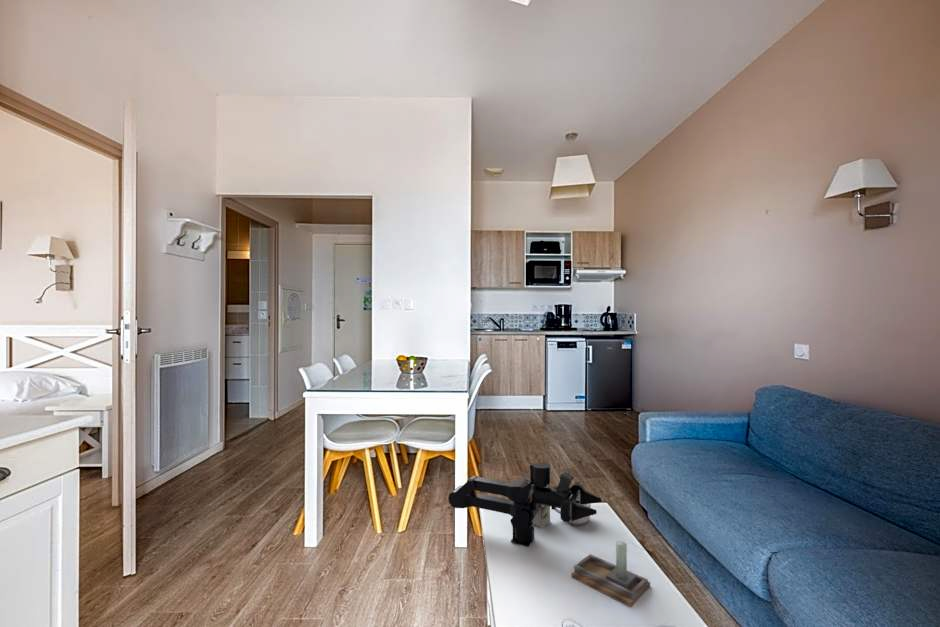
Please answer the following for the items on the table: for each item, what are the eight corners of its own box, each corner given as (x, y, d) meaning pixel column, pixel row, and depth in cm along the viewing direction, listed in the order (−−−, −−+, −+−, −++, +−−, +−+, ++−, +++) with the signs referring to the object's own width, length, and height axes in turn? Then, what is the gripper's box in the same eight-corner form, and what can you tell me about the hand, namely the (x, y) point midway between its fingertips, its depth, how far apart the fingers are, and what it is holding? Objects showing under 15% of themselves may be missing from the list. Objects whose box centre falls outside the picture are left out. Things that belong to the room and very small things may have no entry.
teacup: (590, 515, 164) (590, 494, 164) (591, 529, 153) (591, 507, 153) (553, 512, 167) (553, 491, 167) (552, 525, 156) (551, 503, 156)
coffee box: (551, 521, 159) (550, 478, 159) (542, 528, 155) (541, 483, 155) (529, 514, 165) (529, 472, 165) (520, 520, 160) (520, 477, 160)
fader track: (571, 577, 126) (571, 568, 126) (592, 560, 134) (592, 552, 134) (630, 607, 113) (630, 597, 113) (650, 586, 121) (650, 577, 121)
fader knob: (606, 582, 121) (606, 543, 121) (616, 573, 125) (616, 535, 125) (626, 592, 117) (626, 551, 117) (636, 582, 121) (636, 543, 121)
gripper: (542, 482, 134) (593, 491, 127) (557, 463, 151) (603, 470, 144) (542, 518, 134) (593, 529, 127) (557, 495, 151) (603, 503, 144)
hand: (599, 505), depth 135 cm, fingers open, 9 cm apart
